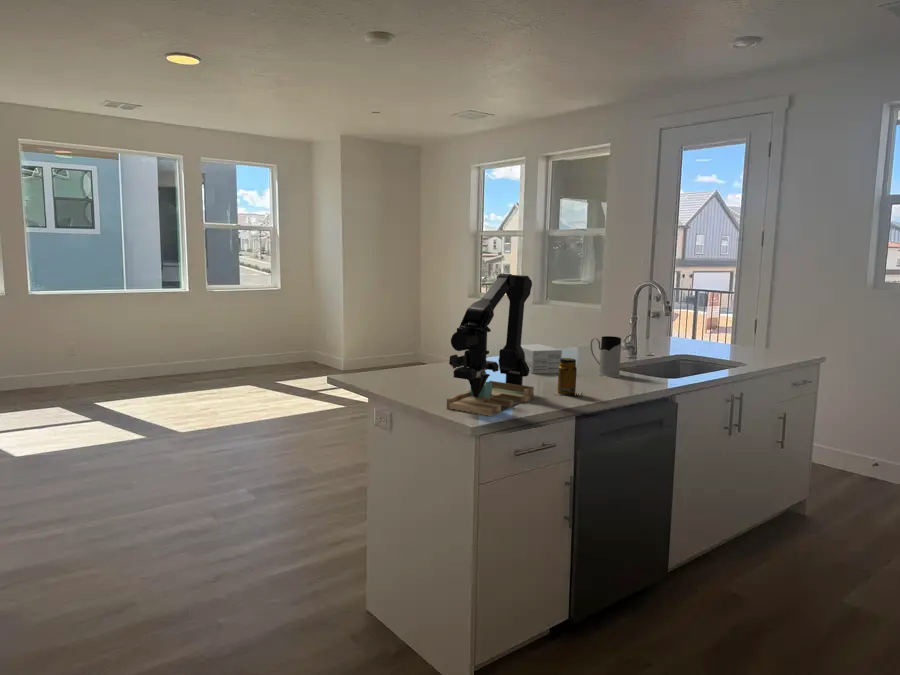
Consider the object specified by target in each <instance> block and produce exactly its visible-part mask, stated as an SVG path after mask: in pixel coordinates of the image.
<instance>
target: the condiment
mask: <svg viewBox="0 0 900 675" xmlns="http://www.w3.org/2000/svg"><path fill="white" fill-rule="evenodd" d="M576 365H577V360H576V359H575V358H570V357H562V358H561V360H560V366H559V373H557V375H558V376H557V391H556V392H555V393H554V395H557V396H568V397H569V396H570V397H581V396H580V395H579V394H581V392H580V391H576V386H577V370H578V369H577V366H576ZM579 392H580V393H579ZM575 393H578V395H577V394H576V396H575ZM571 395H573V396H571Z"/></svg>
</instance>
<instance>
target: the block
mask: <svg viewBox="0 0 900 675" xmlns="http://www.w3.org/2000/svg"><path fill="white" fill-rule="evenodd" d="M470 390H471V391H470ZM470 390H469V391H470V396H473V392H472V389H471V388H470ZM490 395H492V383H491V382H489V381H486V382H485V384H484V386H483V388H482V390H481V392H480V394H479V396H478V397H483V398H485V397H488V396H490Z"/></svg>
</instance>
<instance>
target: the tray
mask: <svg viewBox="0 0 900 675" xmlns="http://www.w3.org/2000/svg"><path fill="white" fill-rule="evenodd" d="M488 382H491V383H492V395H490V396H488V397H485V398H483V397H474V396H470V391H471V389H470V390H468V391H465V392H462V393H459V394H457V395H453V396H450V397H448V398H446V409H447V408H449V409H448V410H452V409H455V410H454V411H458V410H461V411H460V412H463V411H466V412H465V413H469V412H472V413H471V414H475V413H477V414H476V415H480V414H482V415H481V416H486V415H488V417H492V415H493V416H494V414H495V415H497V414H499V413H501V411H502V412H504V411H505V410H509V409H511V408H513V407H516V406H518V405H519V403H520V404H522V403H528V402H530V401H532V400H534V393H535V392H534V391H535V388H534V386H529V385H523V384H522V385H516V384H510V383H506V382H502V381H494V380H489V381H488ZM527 401H528V402H527ZM521 402H522V403H521ZM510 407H511V408H510Z"/></svg>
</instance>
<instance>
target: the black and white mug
mask: <svg viewBox="0 0 900 675" xmlns="http://www.w3.org/2000/svg"><path fill="white" fill-rule="evenodd" d="M594 340H596V341H597V344H598V349H599V351H600V352H599V353H600V354H599V360H598V359H597V357H596V356H595V354H594V351H593V342H594ZM600 340H601V341H600ZM590 351H591V355H592V357H593V359H594V360H595V361H596V363H597V364H598V365H599V367H598V373H597V376H600V377H604V376H607V377H606V378H618V377H617V376H620V377H621V374H620V368H621V351H622V338H621V337H620V336H613V335H612V336H609V335H607V336H605V335H604V336H601V339H599V338H597V337H596V338H595V337H594V338H592V339H591V340H590Z"/></svg>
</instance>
